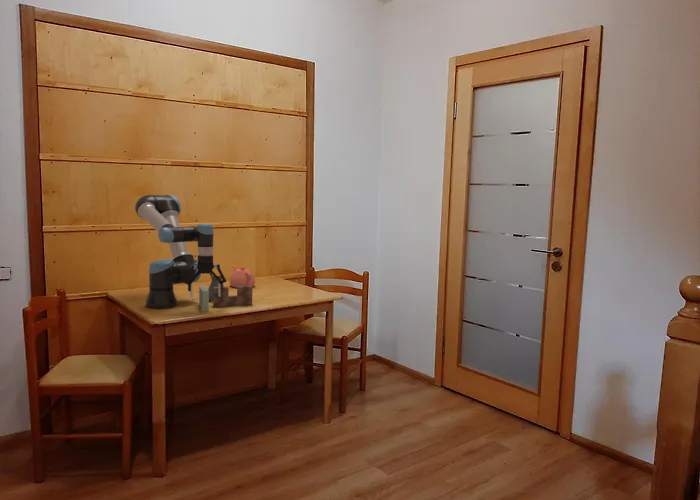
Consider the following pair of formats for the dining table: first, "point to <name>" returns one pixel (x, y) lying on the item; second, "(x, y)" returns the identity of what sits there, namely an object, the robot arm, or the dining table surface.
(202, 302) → the green slotted plate
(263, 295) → the dining table surface
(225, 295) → the walnut slotted plate
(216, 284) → the coffee pot
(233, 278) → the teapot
